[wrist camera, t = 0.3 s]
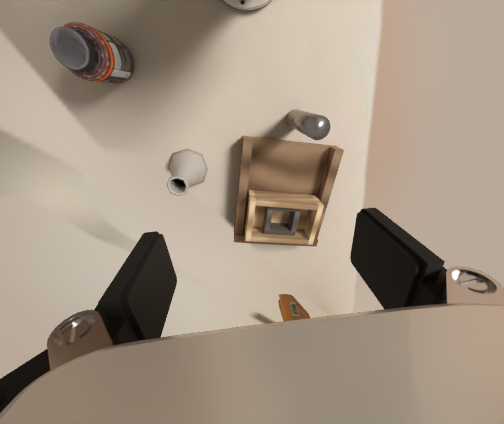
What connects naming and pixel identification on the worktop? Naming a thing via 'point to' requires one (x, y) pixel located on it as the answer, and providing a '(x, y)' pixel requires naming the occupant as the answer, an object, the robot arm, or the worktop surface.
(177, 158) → the flask
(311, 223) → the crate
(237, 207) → the bay
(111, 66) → the supplement bottle
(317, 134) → the handle peg
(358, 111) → the worktop surface
